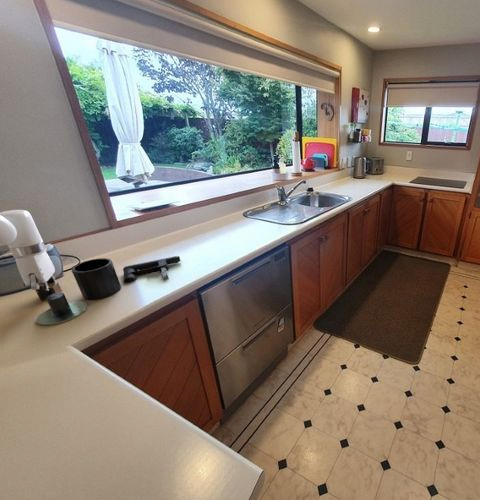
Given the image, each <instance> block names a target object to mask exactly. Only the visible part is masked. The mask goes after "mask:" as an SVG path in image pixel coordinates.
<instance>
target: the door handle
mask: <svg viewBox="0 0 480 500" xmlns="http://www.w3.org/2000/svg"><path fill="white" fill-rule="evenodd" d="M180 262H181V257H180V255H175V256H170V257H165V258H164V257H163V258H159V259H154V260H150V261H144V262H140V263H135V264H130V265H125V266H124V267H123V269H122V271H123V282H124V283H126V284H129V283H133V282H135V281H136V280H137V277H140V276H145V275H150V274H155V273H159V272H160V273H161V274H162V278H163V281H166V280H169V275H168V271H169V268H168V266H169V265H173V264H178V263H180Z"/></svg>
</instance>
